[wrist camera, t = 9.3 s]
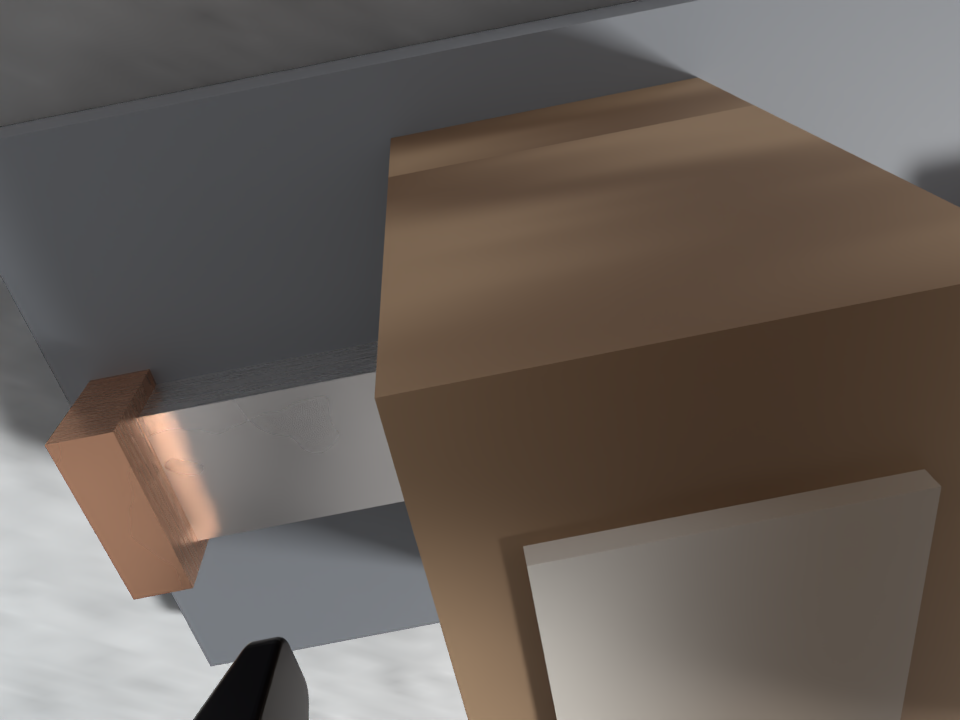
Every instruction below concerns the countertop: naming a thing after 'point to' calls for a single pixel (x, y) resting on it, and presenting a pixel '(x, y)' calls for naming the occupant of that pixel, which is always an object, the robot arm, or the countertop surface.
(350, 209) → the mounting plate
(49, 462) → the countertop surface
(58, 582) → the countertop surface
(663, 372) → the rail module
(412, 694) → the countertop surface
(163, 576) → the copper ended bar
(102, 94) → the countertop surface
